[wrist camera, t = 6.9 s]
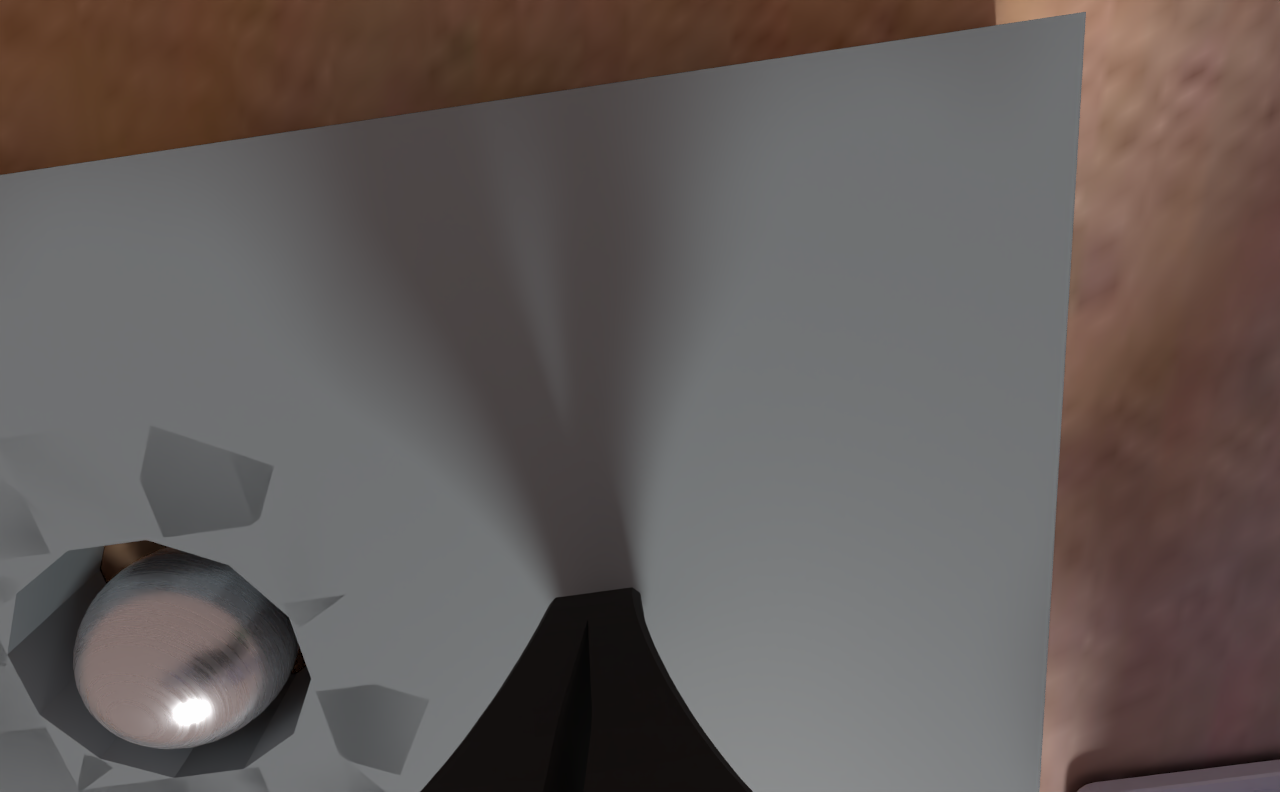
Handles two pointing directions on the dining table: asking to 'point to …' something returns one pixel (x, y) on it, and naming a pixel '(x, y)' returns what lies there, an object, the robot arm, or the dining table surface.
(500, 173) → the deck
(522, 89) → the dining table surface
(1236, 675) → the dining table surface
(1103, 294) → the dining table surface
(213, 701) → the ball
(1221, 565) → the dining table surface
